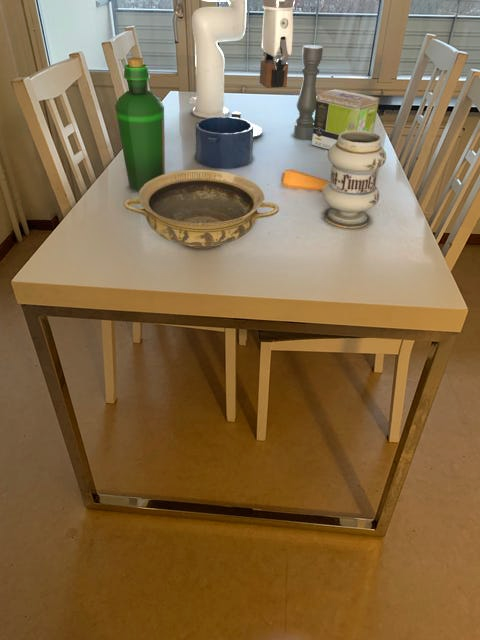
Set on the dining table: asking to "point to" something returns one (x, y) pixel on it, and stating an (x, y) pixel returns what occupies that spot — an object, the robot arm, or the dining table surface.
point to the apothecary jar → (353, 178)
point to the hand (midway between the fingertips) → (272, 83)
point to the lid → (257, 130)
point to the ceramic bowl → (201, 206)
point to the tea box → (342, 115)
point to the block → (270, 73)
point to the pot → (224, 142)
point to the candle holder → (308, 92)
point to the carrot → (302, 180)
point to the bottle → (141, 126)
